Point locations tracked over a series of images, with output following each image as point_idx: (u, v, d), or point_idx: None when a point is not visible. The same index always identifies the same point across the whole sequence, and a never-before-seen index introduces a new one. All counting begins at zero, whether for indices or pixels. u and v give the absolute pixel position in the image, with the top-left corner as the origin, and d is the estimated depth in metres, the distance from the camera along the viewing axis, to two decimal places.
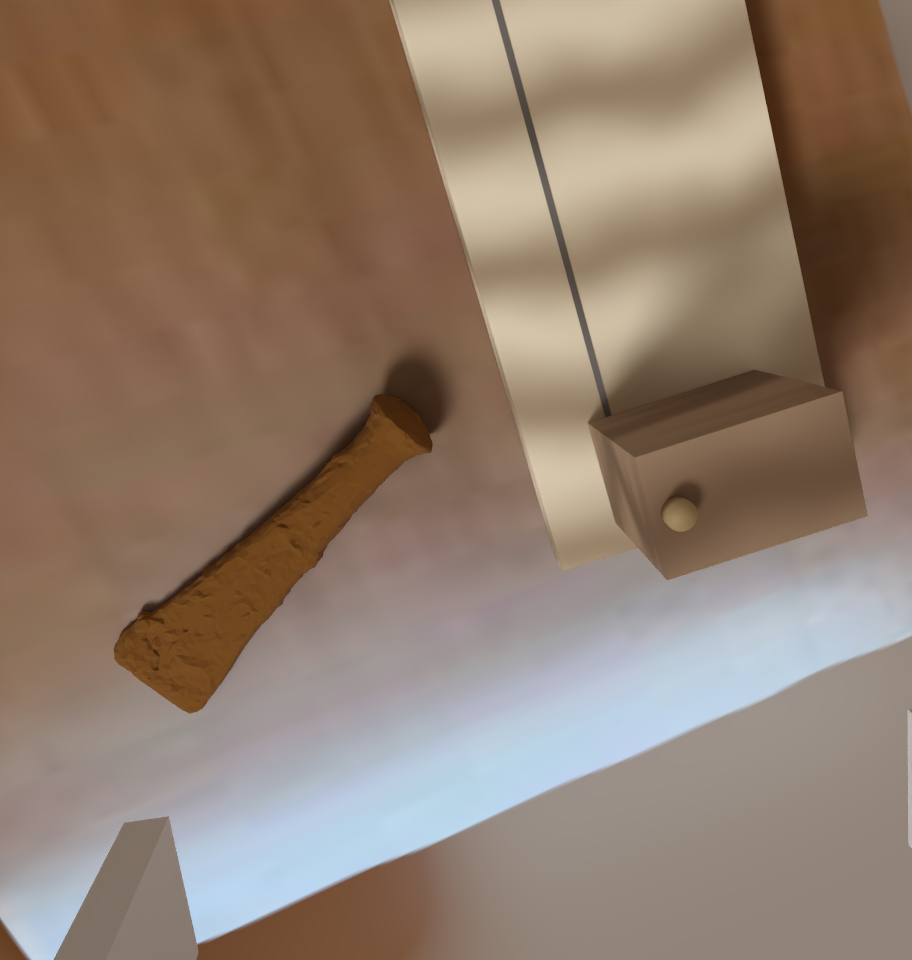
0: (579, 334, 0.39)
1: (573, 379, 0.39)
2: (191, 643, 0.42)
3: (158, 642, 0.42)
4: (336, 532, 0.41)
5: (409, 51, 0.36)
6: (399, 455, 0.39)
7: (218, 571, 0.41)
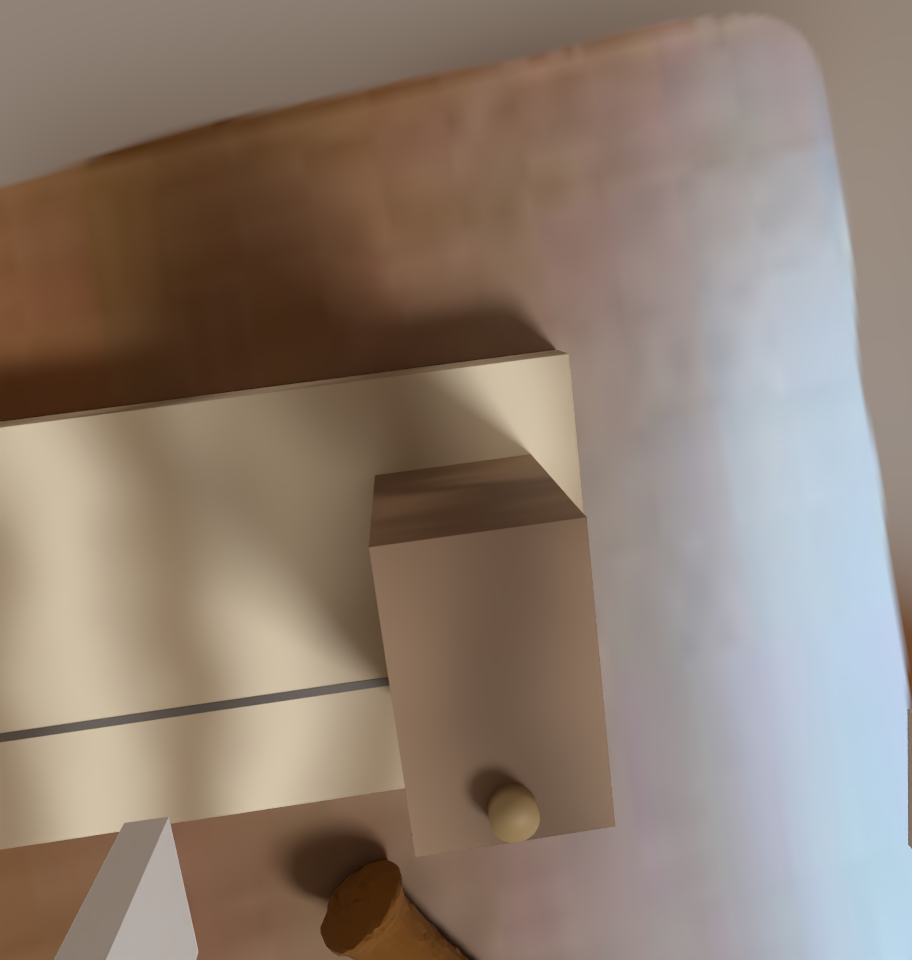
0: (287, 704, 0.29)
1: (346, 717, 0.29)
2: None
3: None
4: None
5: None
6: (396, 932, 0.31)
7: None
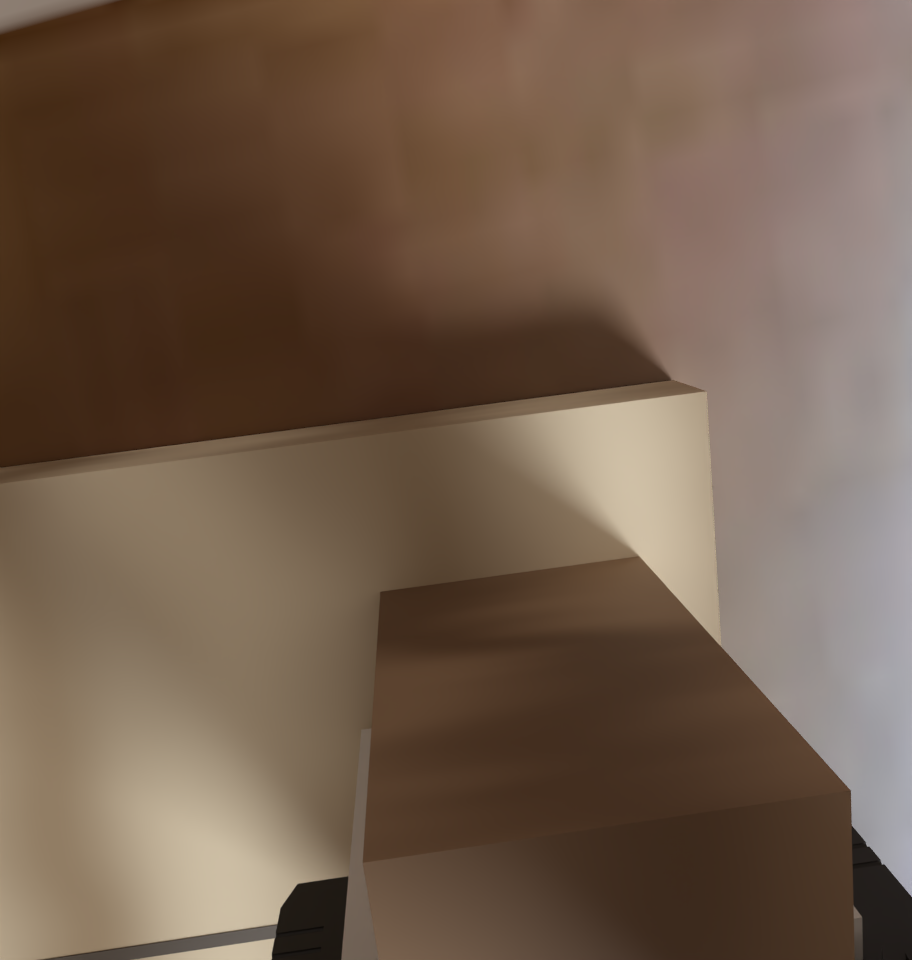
0: (238, 949, 0.18)
1: None
2: None
3: None
4: None
5: None
6: None
7: None
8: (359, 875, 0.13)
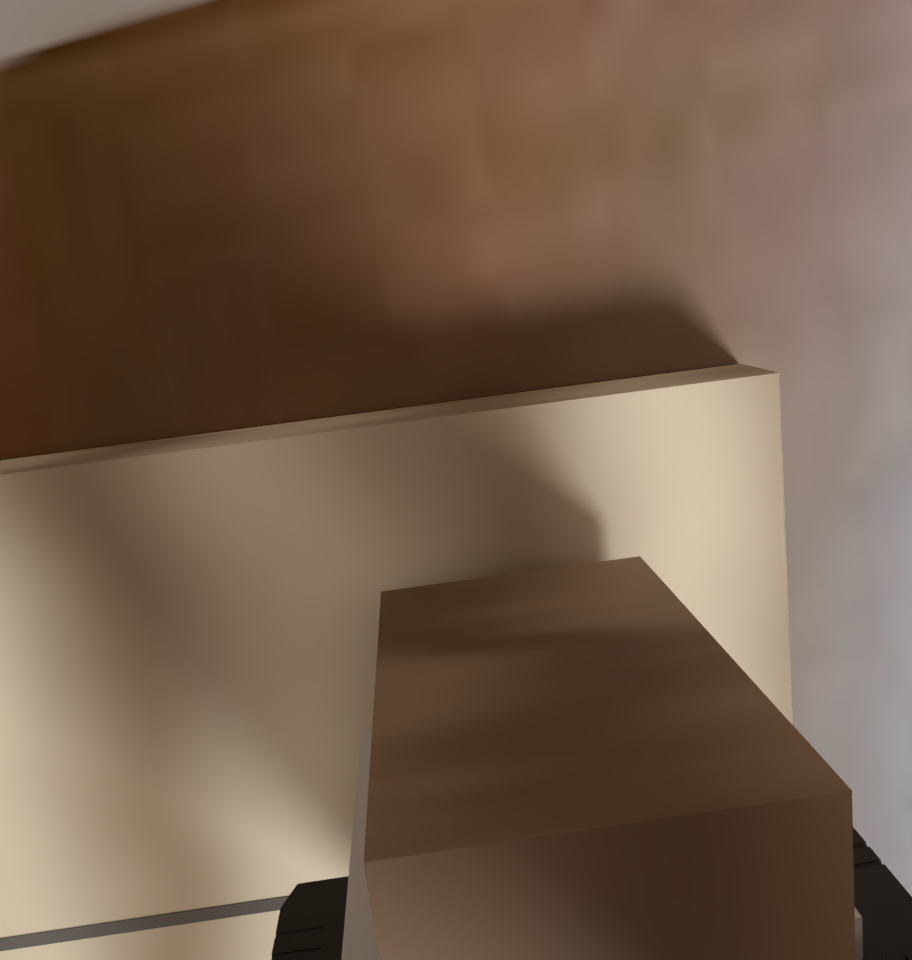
0: None
1: None
2: None
3: None
4: None
5: None
6: None
7: None
8: (359, 875, 0.13)
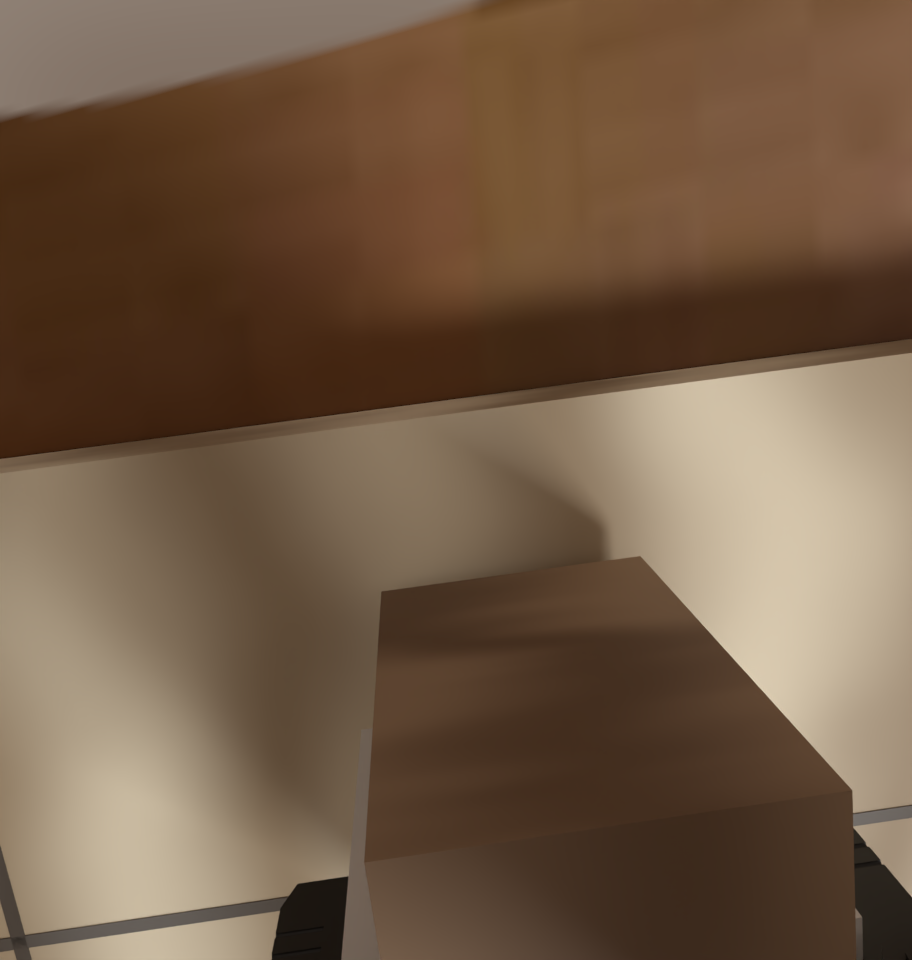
0: None
1: None
2: None
3: None
4: None
5: None
6: None
7: None
8: (359, 875, 0.13)
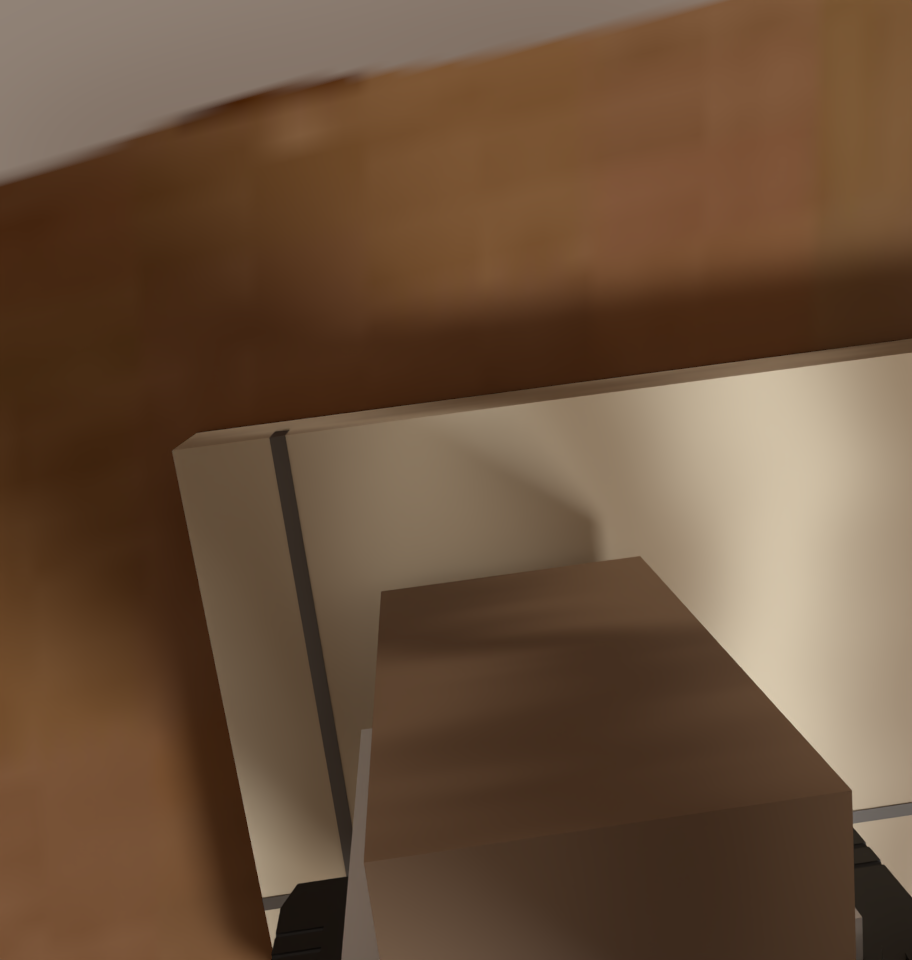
0: None
1: None
2: None
3: None
4: None
5: None
6: None
7: None
8: (359, 875, 0.13)
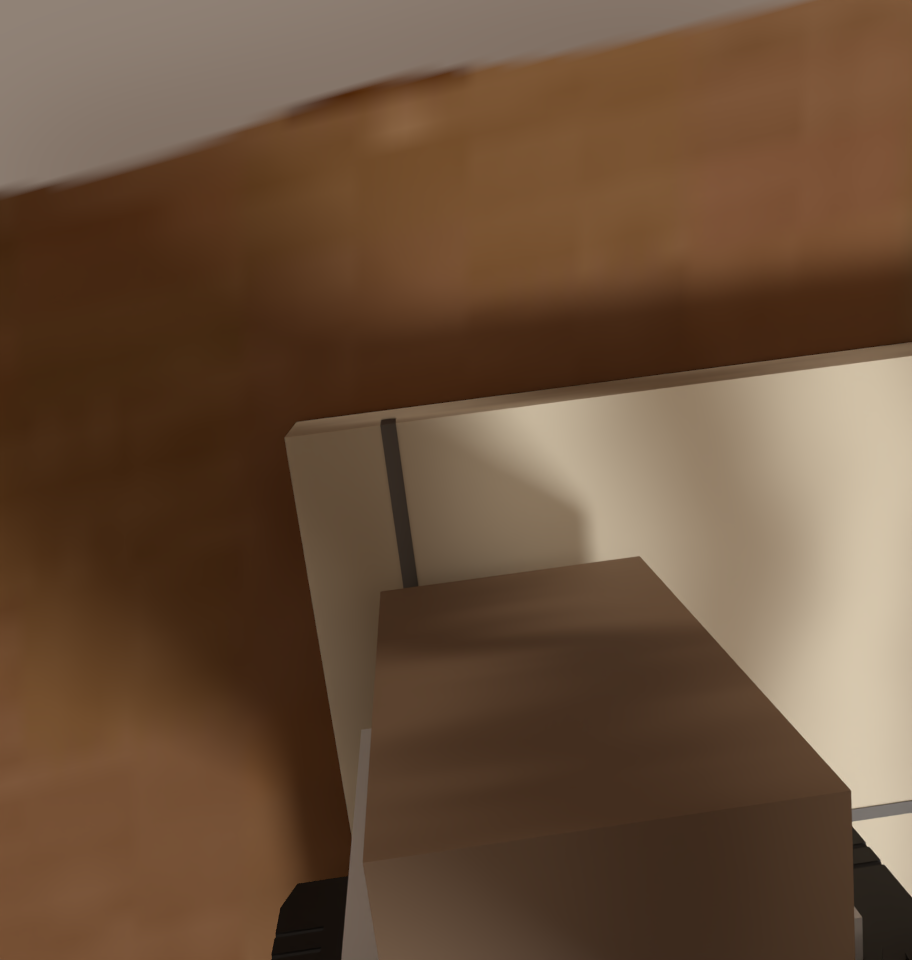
0: None
1: None
2: None
3: None
4: None
5: None
6: None
7: None
8: (359, 875, 0.13)
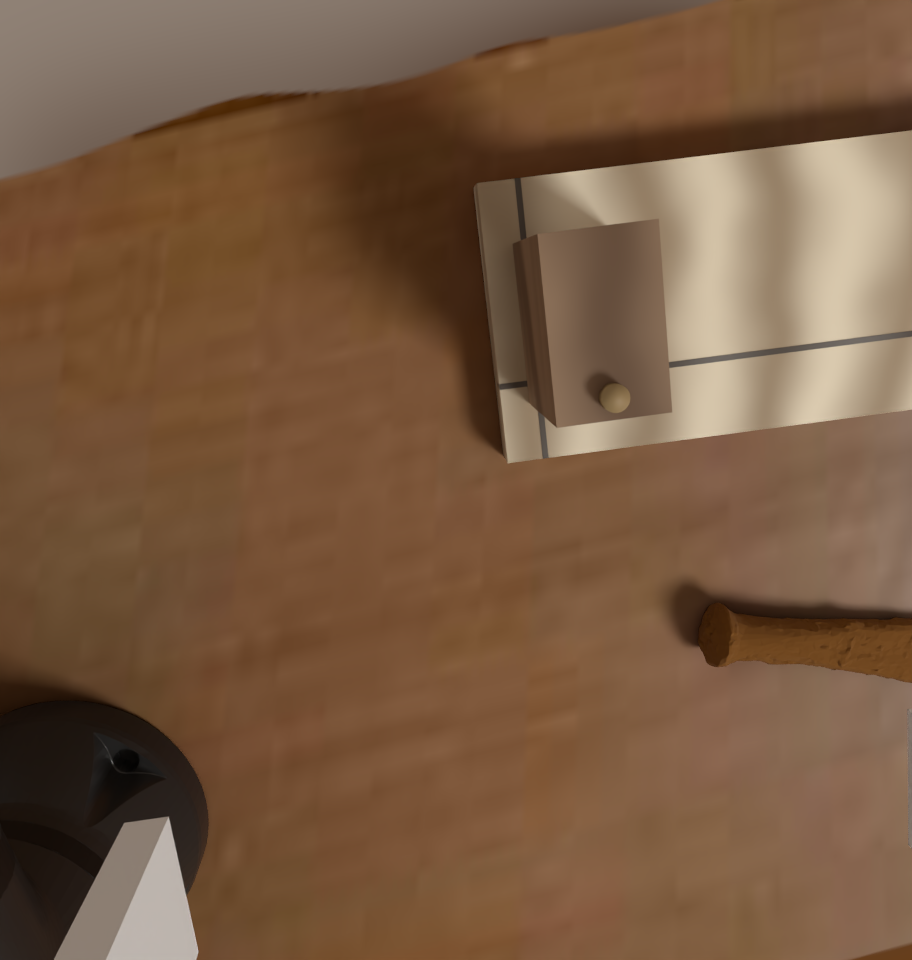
0: (834, 349, 0.45)
1: (868, 360, 0.45)
2: None
3: None
4: (821, 624, 0.49)
5: (588, 451, 0.45)
6: (744, 631, 0.48)
7: (895, 676, 0.51)
8: None
